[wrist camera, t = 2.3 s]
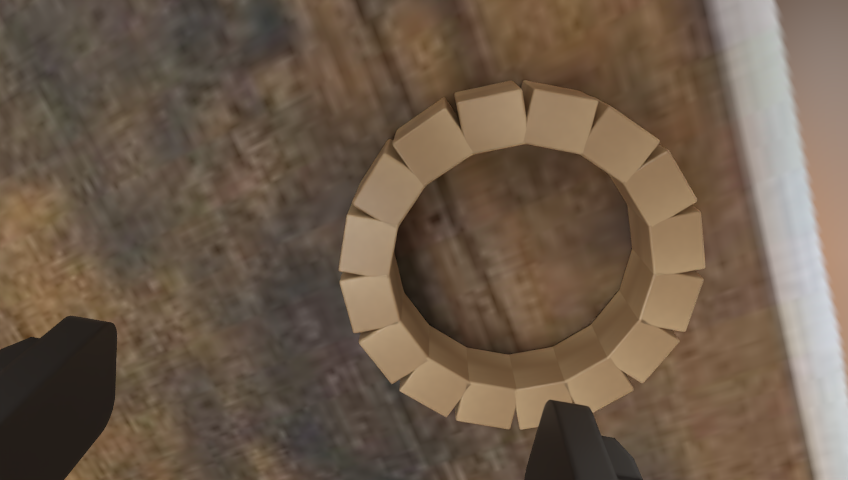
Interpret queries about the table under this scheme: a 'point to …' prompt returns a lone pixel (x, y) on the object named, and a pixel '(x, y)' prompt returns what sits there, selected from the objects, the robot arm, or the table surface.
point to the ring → (582, 352)
